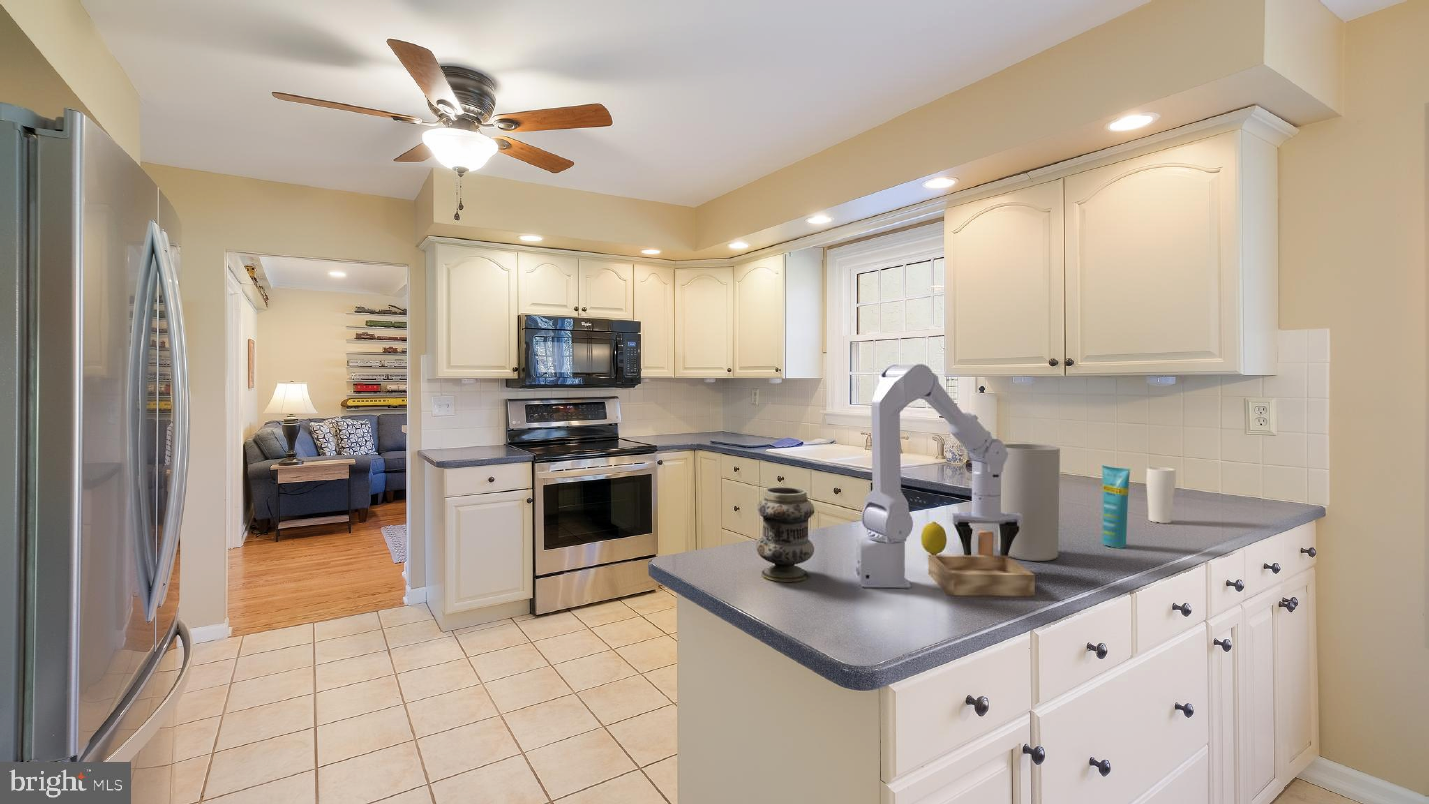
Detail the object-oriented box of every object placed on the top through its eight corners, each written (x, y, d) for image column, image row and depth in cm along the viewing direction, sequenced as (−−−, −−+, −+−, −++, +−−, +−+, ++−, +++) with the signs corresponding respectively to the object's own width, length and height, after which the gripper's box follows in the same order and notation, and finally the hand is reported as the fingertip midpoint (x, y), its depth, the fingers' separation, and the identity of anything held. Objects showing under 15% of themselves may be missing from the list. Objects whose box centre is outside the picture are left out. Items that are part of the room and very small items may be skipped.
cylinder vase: (1017, 544, 158) (1018, 442, 157) (1068, 556, 148) (1070, 447, 147) (986, 552, 151) (988, 446, 150) (1039, 565, 141) (1040, 451, 140)
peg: (980, 571, 137) (981, 534, 136) (975, 567, 140) (976, 530, 139) (995, 571, 137) (995, 534, 136) (989, 567, 140) (990, 530, 139)
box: (948, 595, 122) (948, 574, 122) (928, 573, 135) (928, 555, 135) (1034, 595, 121) (1034, 574, 121) (1006, 574, 134) (1006, 555, 134)
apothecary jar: (809, 586, 127) (809, 496, 127) (750, 581, 131) (749, 493, 130) (818, 569, 139) (818, 486, 138) (763, 564, 143) (763, 483, 142)
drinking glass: (1173, 520, 182) (1174, 468, 182) (1175, 525, 176) (1176, 471, 176) (1144, 518, 186) (1146, 466, 185) (1145, 522, 180) (1146, 469, 179)
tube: (1093, 543, 159) (1094, 465, 158) (1106, 541, 161) (1108, 464, 160) (1122, 550, 152) (1124, 469, 151) (1136, 548, 154) (1138, 468, 153)
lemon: (948, 560, 145) (948, 524, 145) (922, 558, 146) (922, 523, 146) (944, 553, 151) (944, 519, 150) (919, 552, 152) (920, 518, 151)
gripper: (1013, 490, 141) (1012, 551, 142) (945, 490, 142) (945, 551, 142) (1027, 496, 134) (1026, 561, 135) (956, 496, 135) (956, 561, 135)
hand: (985, 557), depth 138 cm, fingers open, 7 cm apart
